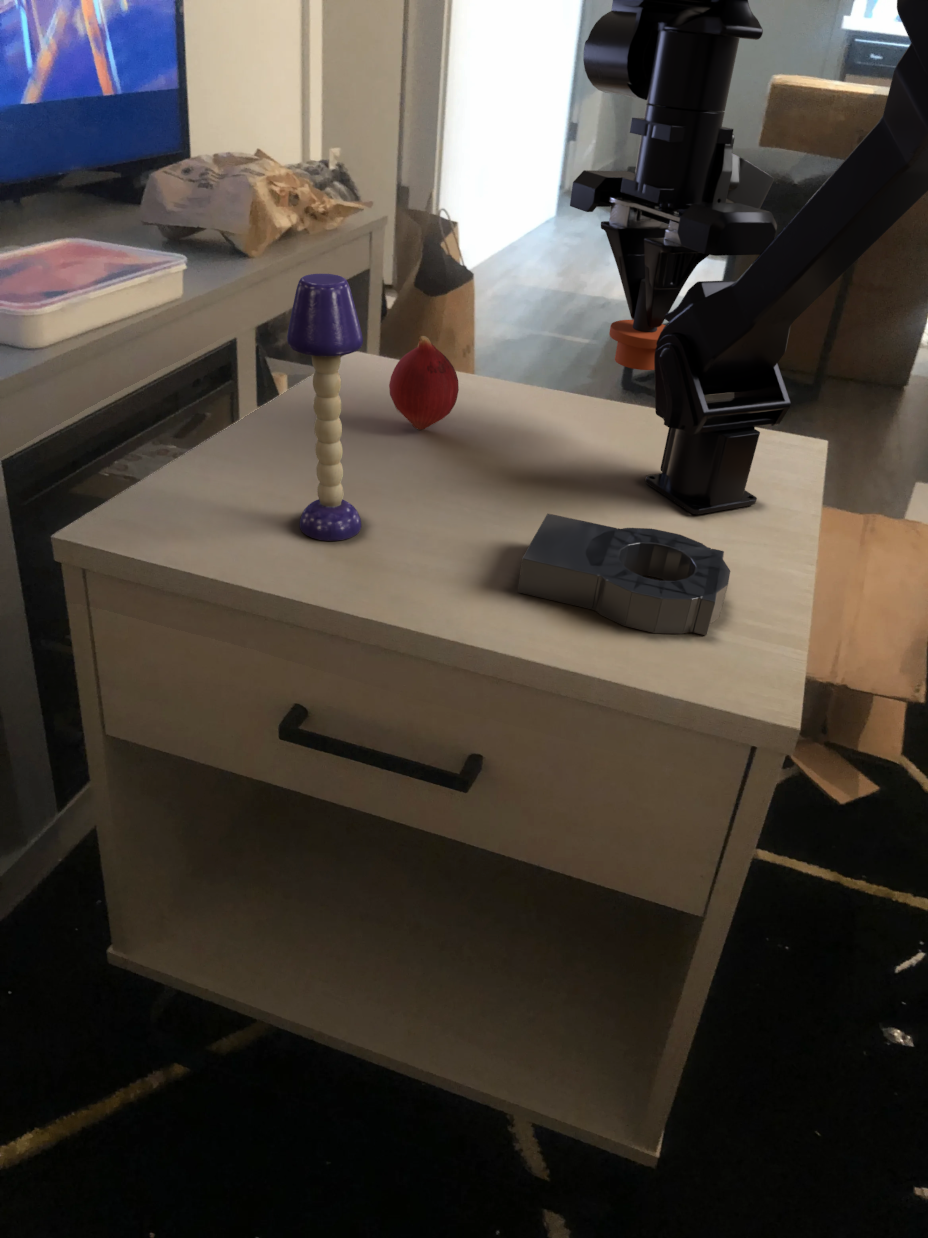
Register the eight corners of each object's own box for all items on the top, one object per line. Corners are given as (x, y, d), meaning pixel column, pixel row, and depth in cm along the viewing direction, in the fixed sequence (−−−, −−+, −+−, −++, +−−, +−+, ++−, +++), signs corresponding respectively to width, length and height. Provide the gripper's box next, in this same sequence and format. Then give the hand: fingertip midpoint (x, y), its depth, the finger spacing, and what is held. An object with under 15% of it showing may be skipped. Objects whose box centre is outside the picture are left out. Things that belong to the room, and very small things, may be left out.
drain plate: (725, 577, 64) (734, 545, 63) (714, 647, 57) (724, 612, 55) (545, 538, 67) (550, 506, 66) (512, 600, 59) (517, 565, 58)
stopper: (685, 370, 79) (702, 289, 75) (630, 375, 76) (645, 291, 73) (645, 350, 83) (660, 271, 79) (592, 354, 80) (605, 273, 77)
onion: (458, 421, 85) (465, 331, 80) (450, 445, 80) (458, 350, 76) (393, 413, 85) (397, 323, 81) (382, 437, 80) (386, 342, 76)
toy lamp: (313, 549, 63) (313, 291, 54) (277, 521, 66) (271, 271, 57) (373, 532, 66) (382, 283, 57) (336, 506, 68) (339, 265, 59)
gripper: (860, 128, 66) (799, 351, 74) (691, 99, 80) (656, 290, 88) (737, 122, 61) (687, 360, 70) (580, 92, 75) (554, 294, 83)
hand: (645, 322), depth 78 cm, fingers closed on stopper
